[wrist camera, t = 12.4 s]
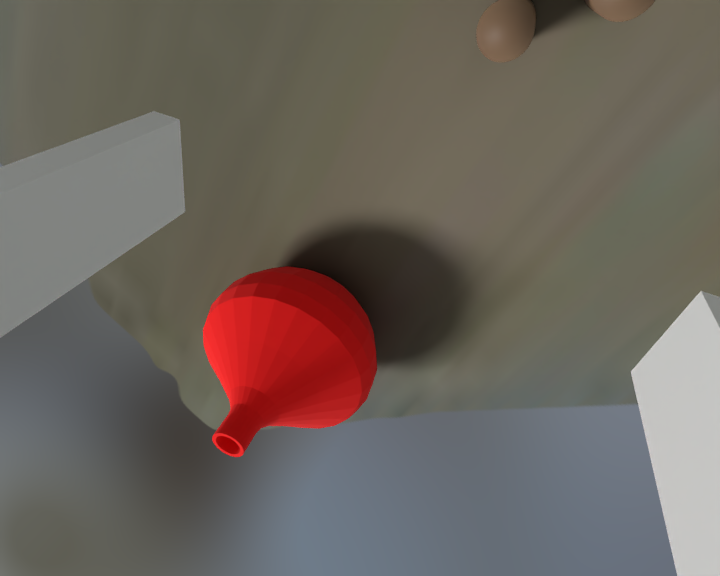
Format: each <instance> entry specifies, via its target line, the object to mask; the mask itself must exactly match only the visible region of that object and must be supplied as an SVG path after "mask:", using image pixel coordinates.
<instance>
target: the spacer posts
mask: <svg viewBox="0 0 720 576" xmlns="http://www.w3.org/2000/svg"><path fill="white" fill-rule="evenodd" d="M585 2H586V4H587V6H588V7H589V8H590V9H592V10H593V11H594V12H596V13H597V14H599V15H600V16H602V17H603V18H605V19H607V20H609V21H613V22H623V21H628V20H631V19H633V18H636V17H637V16H639V15H641V14H642V13H644V12H645V11H646V10H647V9H648V8H649V7H650V6H651V5H652V4H653V3H654V2H655V0H585ZM535 24H536V10H535V7H534V5H533V3H532V2H531V0H498V1H497V2H495V3H493V4H492V5H491V6H489V7H488V8H487V9H486V10H485V12H484V13H483V15H482V16H481V18H480V20H479V23H478V26H477V32H476V38H477V44H478V47H479V49H480V51H481V52H482V53H483V55H484V56H485V57H487V58H488V59H490V60H492V61H495V62H508V61H511V60H514V59H516V58H517V57H519V56H520V55H521V54H523V53H524V52H525V50H526V49H527V48H528V47H529V45H530V43H531V41H532V39H533V36H534V32H535Z"/></svg>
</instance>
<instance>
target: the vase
mask: <svg viewBox="0 0 720 576" xmlns="http://www.w3.org/2000/svg"><path fill="white" fill-rule="evenodd" d="M203 341H204V348H205V351H206V354H207V357H208V360H209V362H210V364H211V366H212V368H213V369H214V371H215V373H216V375H217V376H218V378H219V380H220V382H221V384H222V386H223V388H224V390H225V392H226V394H227V396H228V398H229V400H230V407H231V409H230V412H229V414H228V415H227V417H226V418H225V420H224V421H223V422H222V424H221V425H220V427H219V428H218V429H217V431H216V432H215V434H214V435H213V437H212V440H213V442H214V444H215V445H216V447H217V448H218V449H220V450H221V451H222V452H224V453H225V454H227V455H230V456H233V457H240V456H242V455H243V453H244V452H245V450H246V449H247V447H248V445H249V444H250V442H251V441H252V439H253V437H254V436H255V434H256V433H257V432H258V431H259V430H260V429H261V428H263V427H266V426H290V427H300V428H301V427H302V428H324V427H329V426H334V425H337V424H339V423H341V422H343V421H344V420H346V419H348V418H349V417H350V416H352V415H353V414H354V413H355V412H356V411H357V410H358V409H359V408H360V406H361V405H362V404H363V403H364V402H365V401H366V399H367V397H368V394H369V392H370V389H371V386H372V384H373V381H374V377H375V374H376V371H377V360H376V347H375V339H374V332H373V329H372V327H371V324H370V321H369V318H368V316H367V314H366V313H365V312H364V310H363V309H362V307H361V306H360V304H359V303H358V301H357V300H356V299H355V297H354V296H353V295H352V294H351V293H350V292H349V291H348V290H347V289H346V288H345V287H344V286H342V285H341V284H340V283H338V282H336V281H335V280H333V279H332V278H330V277H328V276H326V275H323V274H320V273H318V272H315V271H312V270H308V269H304V268H296V267H287V266H286V267H279V268H271V269H267V270H263V271H260V272H256V273H252V274H249V275H247V276H245V277H243V278H241V279H239V280H237V281H235V282H233V283H232V284H231V285H230V286H229V287H228V288H227V289H226V290H225V291H224V292H223V293H222V294H221V295H220V296H219V297H218V298H217V299H216V300H215V302H214V303H213V304H212V305H211V308H210V311H209V314H208V317H207V320H206V323H205V326H204V329H203Z"/></svg>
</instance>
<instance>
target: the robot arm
mask: <svg viewBox="0 0 720 576" xmlns="http://www.w3.org/2000/svg"><path fill="white" fill-rule="evenodd" d="M184 212H185V202H184V185H183V168H182V151H181V134H180V120H179V119H176V118H173V117H170V116H167V115H164V114H161V113H158V112H155V111H153V112H151V113H148V114H145V115H142V116H140V117H137V118H134V119H131V120H129V121H126V122H123V123H120V124H118V125H115V126H112V127H109V128H107V129H104V130H101V131H98V132H96V133H93V134H90V135H88V136H85V137H82V138H79V139H77V140H74V141H71V142H68V143H66V144H63V145H60V146H57V147H55V148H52V149H49V150H46V151H44V152H41V153H38V154H35V155H33V156H30V157H27V158H24V159H22V160H19V161H16V162H13V163H11V164H8V165H5V166H3V167H0V337H2V336H3V335H5V334H6V333H8V332H9V331H11V330H12V329H14V328H15V327H16V326H18V325H19V324H21V323H22V322H24V321H25V320H26V319H28V318H30V317H31V316H33V315H34V314H36V313H37V312H39V311H40V310H42V309H43V308H44V307H46V306H47V305H49V304H50V303H52V302H53V301H54V300H56V299H58V298H59V297H61V296H62V295H64V294H65V293H67V292H68V291H69V290H71V289H72V288H74V287H75V286H77V285H78V284H80V283H81V282H83V281H84V280H85V279H87V278H89V277H90V276H92V275H93V274H94V273H96V272H97V271H99V270H100V269H102V268H103V267H105V266H106V265H108V264H109V263H111V262H112V261H114V260H115V259H116V258H118V257H119V256H121V255H122V254H124V253H125V252H127V251H128V250H130V249H131V248H133V247H134V246H136V245H137V244H139V243H140V242H141V241H143V240H144V239H146V238H147V237H149V236H150V235H152V234H153V233H155V232H156V231H158V230H159V229H161V228H162V227H164V226H165V225H166V224H168V223H169V222H171V221H172V220H174V219H175V218H177V217H178V216H180V215H181V214H183V213H184ZM631 375H632V379H633V384H634V388H635V392H636V397H637V401H638V405H639V410H640V414H641V418H642V423H643V427H644V431H645V436H646V440H647V445H648V449H649V454H650V458H651V462H652V466H653V471H654V475H655V480H656V484H657V489H658V493H659V497H660V502H661V506H662V510H663V515H664V519H665V523H666V528H667V532H668V536H669V541H670V545H671V550H672V554H673V558H674V563H675V567H676V571H677V576H720V297H718V296H715V295H712V294H709V293H706V292H703V291H700V293H699V294H698V295H697V296H696V297H695V298H694V299H693V301H692V302H691V303H690V304H689V305H688V306H687V308H686V309H685V310H684V311H683V312H682V313H681V314H680V316H679V317H678V318H677V319H676V320H675V321H674V323H673V324H672V325H671V326H670V327H669V328H668V329H667V331H666V332H665V333H664V334H663V335H662V336H661V338H660V339H659V340H658V341H657V342H656V343H655V344H654V346H653V347H652V348H651V349H650V350H649V351H648V353H647V354H646V355H645V356H644V357H643V358H642V359H641V361H640V362H639V363H638V364H637V365H636V366H635V368H634V369H633V370H632V371H631Z"/></svg>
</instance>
